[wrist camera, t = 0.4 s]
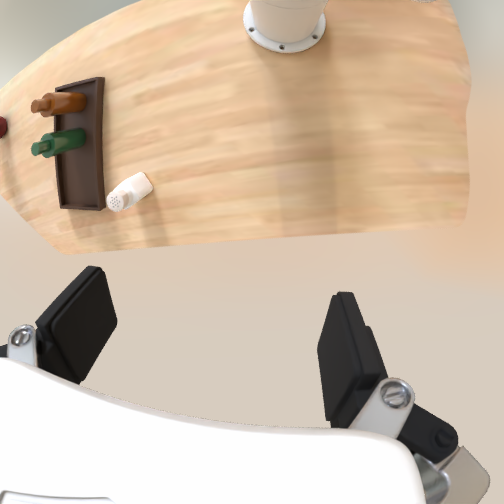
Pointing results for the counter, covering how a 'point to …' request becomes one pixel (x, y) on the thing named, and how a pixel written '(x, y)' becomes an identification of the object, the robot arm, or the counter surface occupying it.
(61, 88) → the tray
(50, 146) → the green bottle
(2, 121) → the cocoa
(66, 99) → the amber bottle
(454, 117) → the counter surface
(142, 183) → the salt shaker
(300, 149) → the counter surface
